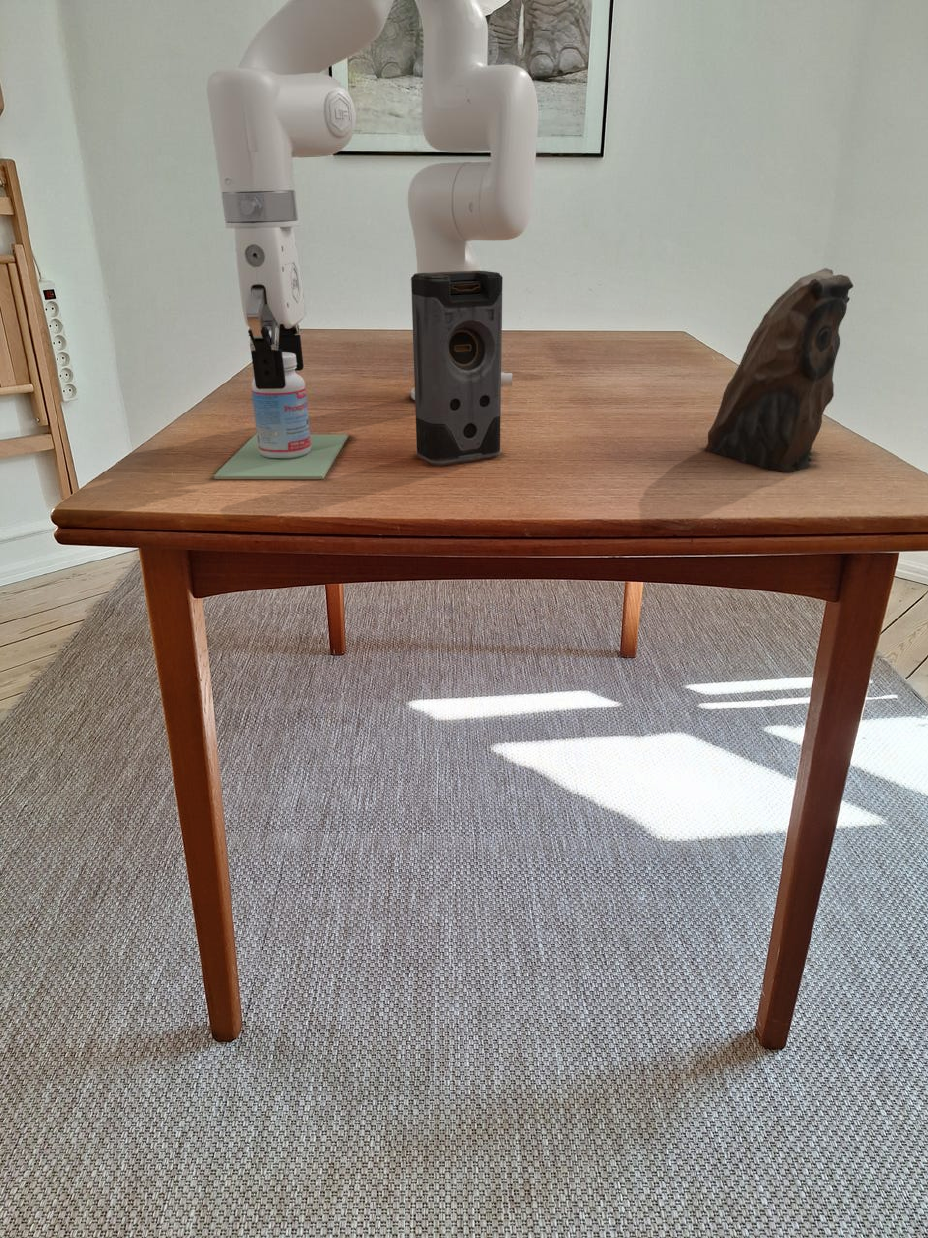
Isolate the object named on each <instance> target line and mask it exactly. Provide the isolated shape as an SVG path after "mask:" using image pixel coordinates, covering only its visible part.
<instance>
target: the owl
mask: <svg viewBox="0 0 928 1238" xmlns="http://www.w3.org/2000/svg"><path fill="white" fill-rule="evenodd" d="M852 288H854V284H853V282H852V281H851V279H850V276H848V275H844V274H834V271H833V270H832V269H829V268H826V267H825V268H822V269H819V270H817V271H816V272H813V273H810V274H807V275H804V276H802V277H800V278H799V279H798V280H796V281H795V282H794V283H793V284H792V285H791V286H789V288H787V290H786V291H784V292H783V293H782V294H781V295H780V296H779V297H778V298H777V299H776V300H775V301H774V303H773V304H772V305H771V306H770V308H769V309H768V310H767V311H766V313H765V314H764V315H763V317H762V319H761V321H760V323H759V324H758V327H757V328H756V329H755V330H754V332H753V333H752V335H751V337H750V339H749V342H748V344H747V346H746V349H745V351H744V353H743V355H742V358H741V360H740V362H739V364H738V367H737V368H736V370H735V373H734V375H733V376H732V378H731V379H730V380H729V382H728V383H727V385H726V387H725V389H724V392H723V396H722V399H721V402H720V406H719V409H718V411H717V415H716V417H715V419H714V421H713V424H712V426H711V428H710V429H709V430H708V431H707V445H706V446H705V448H704V451H707V452H711V453H712V454H713V453H714V454H717V455H721V456H724V457H726V458H730V459H734V460H738V461H739V462H740V461H741V463H745V464H750V465H755V466H758V467H760V468H762V469H764V470H767V471H775V472H781V473H792V472H795V471H801V470H804V469H809V468H811V467H812V465H811V464H810V462H811V461H812V458H811V457H810V456H811V455H812V449H813V445H814V443H815V440H816V438H817V436H818V434H819V432H820V430H821V428H822V423H823V414H824V412H825V410H826V408H827V406H828V405H830V403H831V402H832V401H833V398H834V395H835V392H834V390H835V389H834V386H835V384H834V381H833V379H834V371H835V363H836V360H837V357H838V353H839V351H840V347H841V336H840V333H839V332H840V326H841V323H842V321H843V320H844V318H845V316H846V313H847V309H848V308H847V307H848V303H849V302H850V299H851V298H850V297H849V291H850V290H851V289H852Z"/></svg>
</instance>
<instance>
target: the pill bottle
mask: <svg viewBox="0 0 928 1238" xmlns="http://www.w3.org/2000/svg"><path fill="white" fill-rule="evenodd" d="M282 356H283V364H284V373H285V381H286V386H285V387H284V388H282V389H258V388H257V387H256V384H255V377H254V378H253V379H252V380H251V384H250V385H251V386H250V387H251V396H252V403H253V404H252V405H253V412H254V413H253V414H254V420H255V421H254V423H255V430H256V434H257V439H258V447H259V452H260V454H261V455H263V456H265V457H268V458H296V457H300V456H303V455H306V454H307V453H309V452H310V450H311V440H310V434H311V432H310V420H309V419H310V418H309V411H308V399H307V390H306V383H305V379H304V378H303V377H302V376H301V375H300V374H298V373H296V371H295V369H296V368H297V367H296V365H297V362H296V355H295V354H294V353H289V352H282Z"/></svg>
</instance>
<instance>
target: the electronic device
mask: <svg viewBox="0 0 928 1238" xmlns="http://www.w3.org/2000/svg"><path fill="white" fill-rule="evenodd" d="M410 287H411V314H412V316H411V317H412V320H411V321H412V342H413V343H412V348H413V352H412V353H413V381H414V388H415V400H414V408H415V410H414V411H415V440H416V456H418V457H419V458H420V459H421V460H422V461H425V462H426V463H428V464H430V465H432V466H436V467H437V466H438V467H444V466H450V465H451V466H452V465H458V464H465V463H470V462H478V461H483V460H484V461H485V460H490V459H494V458H497V457H498V456H499V455H500V453H501V418H502V417H501V416H502V415H501V413H502V412H501V411H502V410H501V409H502V386H501V372H502V348H503V347H502V344H503V343H502V341H503V339H502V338H503V336H502V335H503V275H501V273H499V272H496V271H489V270H482V271H455V272H433V273H417V272H416V273H414V274H413V275H412V276H411V277H410Z"/></svg>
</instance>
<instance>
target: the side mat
mask: <svg viewBox="0 0 928 1238" xmlns="http://www.w3.org/2000/svg"><path fill="white" fill-rule="evenodd" d="M348 434H349V433H348ZM348 434H346V433H343V434H341V433H339V434H338V433H337V434H336V433H333V434H332V433H328V434H327V433H325V434H324V433H322V434H321V433H320V434H319V433H318V434H317V433H313V434H312V433H310V440H311V450H310V452H309V453H307V454H306V455H303V456H300V457H296V458H268V457H265V456H263V455H261V454H260V452H259V447H258V439H257V433H255V434H254V435H253V436H252V437H251V438H250V439H249V440H248V441H246V443H245V444H244V445H243V446H242V447H241V448H240V449H239V450H238V451H237V452H236V453H235V454H234V455H233V456H232V457H231V458H229V460H228V461H227V462H226V463H225V464H224V465H223V466H222V467H221V468H220V469H219V470H217V472H216V473H214V475H213V480H324V478H325V477H326V475H327V474H328V472H329V470H330V469H331V467H332V465H333V464H334V462H335V460H336V459H337V456H338V455H339V453H340V451H341V450H342V449H343V446H344V445H345V443H346V442H347V440H348V438H349V435H348Z"/></svg>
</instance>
